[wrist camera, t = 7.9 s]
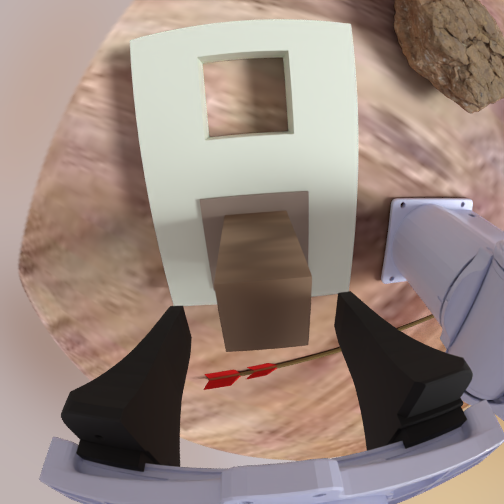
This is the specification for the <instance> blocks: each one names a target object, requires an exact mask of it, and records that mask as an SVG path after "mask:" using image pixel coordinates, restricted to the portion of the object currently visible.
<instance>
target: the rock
mask: <svg viewBox="0 0 504 504" xmlns="http://www.w3.org/2000/svg"><path fill="white" fill-rule="evenodd" d="M394 8H395V11H396V13H395V16H394V18H395V21H394V29H395V32H396V34H397V37H398V42H399V44H400V46H401V47H402V53H403V54H404V55H405V56H406V57H407V60H408V63H409V66H410V67H411V68H412V69H414V70H415V71H416V72H417V73H419V74H420V75H421V76H423V77H424V78H426V79H428V80H429V81H430V82H431V83H432V84H433V86H434V87H435V88H437V89H438V90H439V91H440V92H441V93H443V94H444V95H445V96H446V97H448V98H450V99H451V100H453V101H454V102H456V103H457V104H458V105H460V106H461V107H462V108H463V109H464V110H466V111H467V112H468V113H474V112H475V111H476V112H479V111H480V110H482V109H483V108H485V107H486V106H488V105H489V104H490V103H492V104H494V103H496V101H499V100H500V99H502V98H504V37H503V35H502V32H501V30H500V29H499V27H498V25H497V23H496V21H495V19H494V18H493V17H492V16H491V15H490V14H489V12H488V11H487V9H486V7H485V6H483V5H482V4H481V3H480V1H479V0H395V4H394Z"/></svg>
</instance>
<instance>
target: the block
mask: <svg viewBox="0 0 504 504" xmlns="http://www.w3.org/2000/svg"><path fill="white" fill-rule="evenodd" d="M214 288H215V294H216V300H217V305H218V311H219V316H220V322H221V327H222V333H223V338H224V343H225V348H226V352H232V351H249V350H263V349H275V348H286V347H296V346H305V345H308V341H309V327H310V311H311V291H312V275H311V272H310V269H309V267H308V264H307V262H306V259H305V256H304V254H303V251H302V249H301V246H300V244H299V241H298V238H297V236H296V233H295V231H294V228H293V226H292V223H291V221H290V218H289V216H288V214H287V211H273V212H259V213H246V214H234V215H225V217H224V223H223V229H222V235H221V241H220V247H219V254H218V260H217V266H216V273H215V280H214Z"/></svg>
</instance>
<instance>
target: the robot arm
mask: <svg viewBox="0 0 504 504" xmlns="http://www.w3.org/2000/svg"><path fill="white" fill-rule="evenodd" d="M401 203H403V206H402V207H401V206H400V205H401ZM461 203H462V205H461ZM472 206H473V202H472V200H471V199H469V198H396V199H394V200H393V201H392V202H391V209H390V219H389V227H388V235H387V243H386V250H385V257H384V263H383V269H382V275H381V280H382V282H383V283H384V284H387V283H395V282H402V281H408V283H409V284H410V285H411V286H412V288H413V289H414V290H415V292H416V293H417V294H418V295H419V297H420V298H421V299H422V301H423V302H424V303H425V305H426V306H427V307H428V309H429V310H430V311H431V313H432V314H433V316H434V317H435V318H436V320H437V321H438V322H439V324H440V325H441V327H442V329H443V330H442V334H441V337H440V340H441V341H442V343H443V344H444V346H445V347H446V349H447V350H446V352H442V351H439V350H437V349H434V348H432V347H429V346H427V345H425V344H423V343H421V342H419V341H417V340H415V339H413V338H411V337H409V336H408V335H406V334H404V333H403V332H401V331H399V330H398V329H396V328H395V327H393V326H392V325H391V324H389V323H388V322H387V321H385V320H384V319H383V318H381V317H380V316H379V315H378V314H376V313H375V312H374V311H373V310H372V309H370V308H369V307H368V306H367V305H366V304H365V303H363V302H362V301H361V300H360V299H359V298H358V297H357V296H355V295H354V294H353V293H352V292H351V291H349V292H341V293H338V300H337V308H336V316H335V324H334V327H335V331H336V335H337V339H338V343H339V345H340V348H341V351H342V353H343V356H344V358H345V361H346V363H347V366H348V368H349V371H350V374H351V376H352V379H353V382H354V385H355V388H356V392H357V396H358V401H359V405H360V410H361V415H362V420H363V426H364V432H365V439H366V447H367V451H364V452H360V453H356V454H351V455H347V456H342V457H337V458H332V459H328V458H321V459H310V460H303V461H296V462H287V463H277V464H265V465H247V466H238V467H232V468H229V469H214V468H213V469H212V468H188V467H180V414H181V401H182V394H183V389H184V384H185V379H186V374H187V369H188V364H189V359H190V352H191V338H192V337H191V334H190V330H189V327H188V323H187V319H186V316H185V312H184V308H183V306H170V307H169V308H168V310H167V311H166V312H165V313H164V315H163V316H162V317H161V318H160V320H159V321H158V322H157V323H156V325H155V326H154V327H153V328H152V329H151V331H150V332H149V333H148V334H147V335H146V337H145V338H144V339H143V340H142V341H141V342H140V343H139V344H138V345H137V346H136V347H135V348H134V349H133V350H132V351H131V352H130V353H129V354H128V355H127V356H126V357H125V358H123V359H122V360H121V361H120V362H119V363H117V364H116V365H115V366H113V367H112V368H111V369H109V370H108V371H107V372H105V373H104V374H102V375H101V376H99V377H97V378H96V379H94V380H92V381H91V382H89V383H87V384H85V385H83V386H81V387H79V388H77V389H75V390H73V391H71V392H70V394H69V396H68V398H67V400H66V403H65V405H64V408H63V410H62V413H61V418H62V420H63V422H64V423H65V424H66V426H67V427H68V428H69V429H70V430H71V431H72V432H73V433H74V434H75V435H76V436H77V437H78V438H79V439H80V442H79V445H78V444H76V443H74V442H71V441H68V440H64V439H61V438H58V437H53V438H52V441H51V444H50V447H49V450H48V453H47V456H46V459H45V462H44V465H43V468H42V472H41V475H40V481H41V482H43V483H44V484H46V485H48V486H49V487H51V488H52V489H54V490H56V491H57V492H59V493H61V494H63V495H64V496H66V497H68V498H70V499H72V500H74V501H77V502H80V503H83V504H397V503H400V502H402V501H405V500H407V499H410V498H412V497H414V496H417V495H419V494H421V493H423V492H426V491H428V490H430V489H432V488H434V487H436V486H438V485H440V484H442V483H444V482H446V481H448V480H450V479H452V478H454V477H456V476H457V475H459V474H461V473H463V472H465V471H467V470H468V469H470V468H472V467H473V466H475V465H477V464H478V463H480V462H481V461H482V460H483V459H485V458H486V457H487V456H488V455H490V454H491V453H492V452H493V451H494V450H495V449H497V448H498V447H499V446H500V445H501V444H502V443H503V442H504V432H503V430H502V428H501V426H500V424H499V422H498V420H497V418H496V416H495V415H494V414H496V415H497V416H498V417H499V418H501V419H502V420H503V421H504V231H502V230H501V229H499V228H498V227H496V226H495V225H493V224H492V223H490V222H489V221H487V220H486V219H484V218H483V217H481V216H480V215H478V214H476V213H475V212H473V211H472ZM390 277H392V278H391V279H390ZM463 401H464V402H466V403H467V404H469V405H472V406H471V407H469V408H467V409H466V410H465V411H464V412H463V410H462V408H461V406H462V405H463Z"/></svg>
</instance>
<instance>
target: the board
mask: <svg viewBox="0 0 504 504" xmlns="http://www.w3.org/2000/svg"><path fill="white" fill-rule="evenodd" d="M130 55H131V70H132V83H133V93H134V103H135V112H136V121H137V129H138V136H139V143H140V150H141V157H142V163H143V169H144V175H145V181H146V187H147V192H148V198H149V203H150V208H151V213H152V218H153V223H154V227H155V232H156V237H157V241H158V245H159V250H160V254H161V258H162V262H163V266H164V270H165V274H166V278H167V282H168V286H169V290H170V294H171V297H172V301H173V305H174V306H194V305H213V304H217V300H216V294H215V288H214V280H215V273H216V266H217V260H218V254H219V247H220V241H221V235H222V229H223V223H224V217H225V215H234V214H246V213H259V212H273V211H287V214H288V216H289V218H290V221H291V223H292V226H293V228H294V231H295V233H296V236H297V238H298V241H299V244H300V246H301V249H302V251H303V254H304V256H305V259H306V262H307V264H308V267H309V269H310V272H311V275H312V291H311V297H313V296H323V295H332V294H338V293H341V292H349V285H350V277H351V268H352V258H353V248H354V236H355V223H356V207H357V186H358V104H357V84H356V69H355V57H354V47H353V37H352V29H351V24H347V23H339V22H329V21H316V20H292V19H268V20H245V21H232V22H222V23H213V24H205V25H198V26H192V27H186V28H180V29H175V30H170V31H165V32H161V33H156V34H152V35H148V36H144V37H140V38H136V39H133V40H130ZM277 57H283V63H284V75H285V88H286V103H287V118H288V131H284V132H264V133H249V134H237V135H226V136H217V137H209V129H208V119H207V108H206V98H205V87H204V75H203V63H209V62H218V61H227V60H238V59H252V58H277Z"/></svg>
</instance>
